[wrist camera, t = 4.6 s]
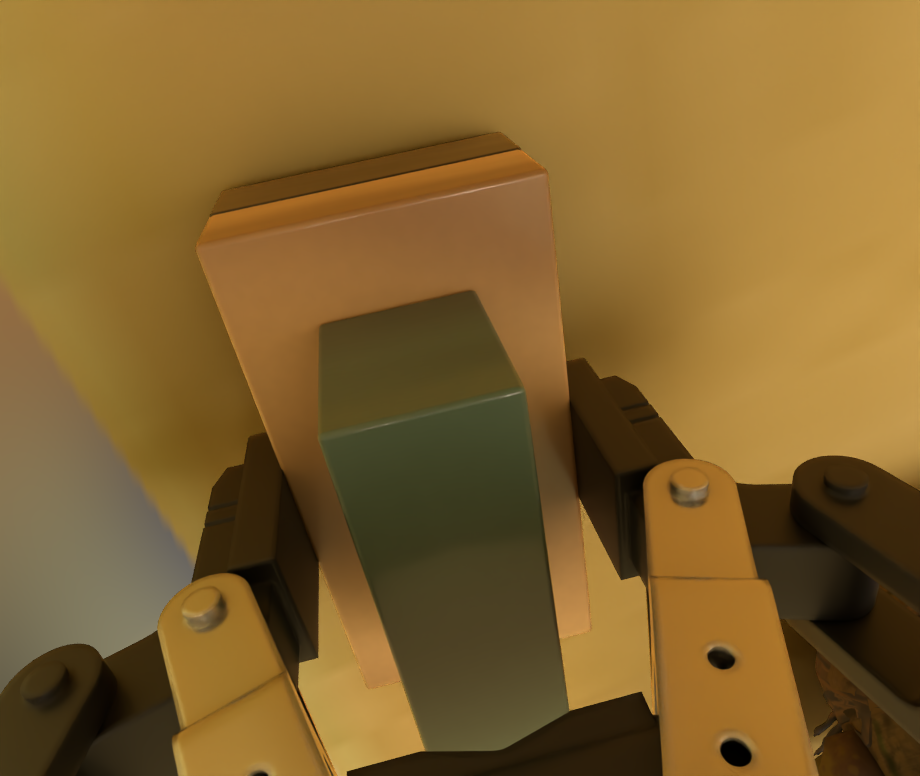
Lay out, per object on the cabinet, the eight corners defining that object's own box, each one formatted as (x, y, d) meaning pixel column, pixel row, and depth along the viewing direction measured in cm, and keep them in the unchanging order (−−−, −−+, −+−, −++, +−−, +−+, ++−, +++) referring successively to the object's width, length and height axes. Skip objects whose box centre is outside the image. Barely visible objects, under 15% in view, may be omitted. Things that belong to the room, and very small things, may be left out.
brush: (219, 190, 12) (139, 345, 7) (500, 130, 12) (633, 233, 7) (360, 586, 17) (376, 843, 12) (553, 537, 17) (650, 767, 12)
